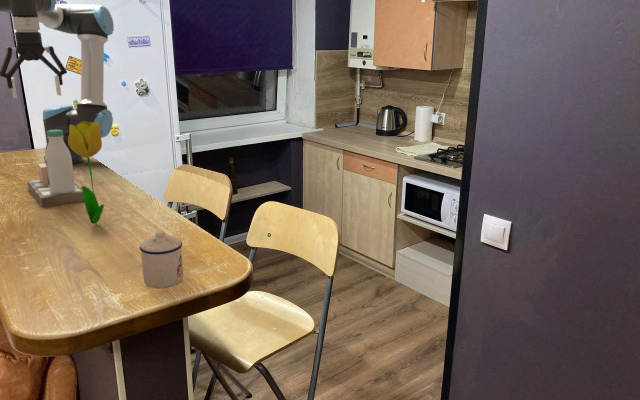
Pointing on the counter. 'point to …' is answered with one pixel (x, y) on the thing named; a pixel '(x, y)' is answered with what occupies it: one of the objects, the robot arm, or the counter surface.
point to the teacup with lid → (162, 260)
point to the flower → (86, 145)
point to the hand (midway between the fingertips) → (37, 96)
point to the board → (51, 199)
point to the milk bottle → (59, 164)
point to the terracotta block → (43, 173)
